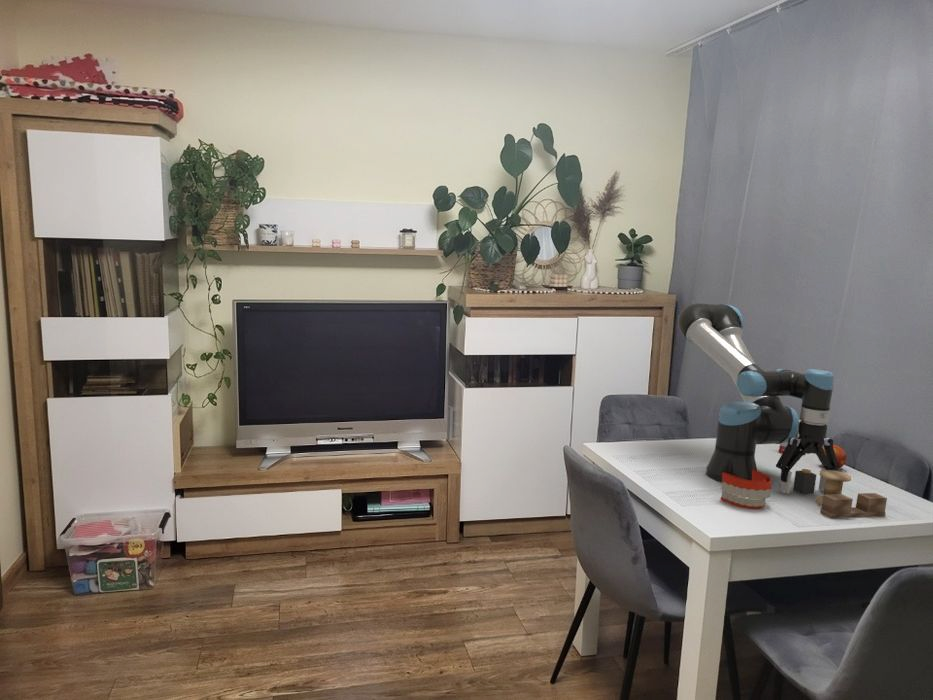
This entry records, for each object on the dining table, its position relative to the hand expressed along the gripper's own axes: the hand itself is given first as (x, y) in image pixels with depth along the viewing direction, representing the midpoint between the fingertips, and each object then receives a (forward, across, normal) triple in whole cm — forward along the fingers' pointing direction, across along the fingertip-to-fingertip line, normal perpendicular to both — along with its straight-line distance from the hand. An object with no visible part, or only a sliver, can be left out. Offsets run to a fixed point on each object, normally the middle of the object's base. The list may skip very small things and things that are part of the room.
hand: (803, 491), depth 213 cm
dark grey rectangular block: (0, 0, 0) cm, 0 cm away
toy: (0, -25, -8) cm, 26 cm away
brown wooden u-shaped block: (0, +1, -18) cm, 18 cm away
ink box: (0, +27, +39) cm, 48 cm away
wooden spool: (0, +1, -10) cm, 10 cm away
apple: (0, +29, +21) cm, 36 cm away
